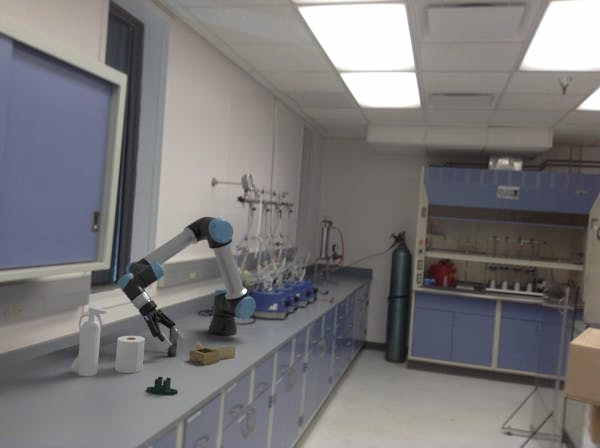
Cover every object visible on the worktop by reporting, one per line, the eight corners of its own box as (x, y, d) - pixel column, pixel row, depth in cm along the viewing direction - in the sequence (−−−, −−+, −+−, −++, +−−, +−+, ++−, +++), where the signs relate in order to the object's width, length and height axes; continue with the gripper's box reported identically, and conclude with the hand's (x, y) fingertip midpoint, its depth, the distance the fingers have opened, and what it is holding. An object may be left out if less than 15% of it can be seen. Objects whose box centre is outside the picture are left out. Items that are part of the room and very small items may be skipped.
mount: (179, 392, 186) (180, 378, 185) (175, 396, 181) (176, 382, 181) (149, 389, 186) (150, 374, 186) (144, 393, 182) (145, 378, 182)
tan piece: (208, 348, 245) (209, 339, 245) (236, 357, 234) (237, 347, 234) (175, 355, 229) (175, 345, 229) (203, 365, 219) (204, 354, 218)
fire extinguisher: (77, 367, 202) (83, 303, 200) (105, 373, 199) (111, 308, 197) (65, 372, 195) (71, 306, 194) (94, 379, 192) (100, 311, 191)
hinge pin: (172, 354, 231) (174, 327, 231) (177, 356, 229) (180, 328, 228) (165, 355, 228) (168, 328, 228) (171, 357, 226) (173, 329, 226)
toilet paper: (134, 374, 199) (136, 343, 199) (109, 371, 202) (112, 339, 201) (147, 367, 209) (149, 337, 209) (123, 364, 211) (126, 334, 211)
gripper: (150, 305, 242) (179, 341, 241) (125, 315, 218) (157, 355, 216) (162, 295, 242) (191, 331, 240) (138, 303, 217) (170, 344, 215)
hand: (175, 343), depth 228 cm, fingers open, 13 cm apart
